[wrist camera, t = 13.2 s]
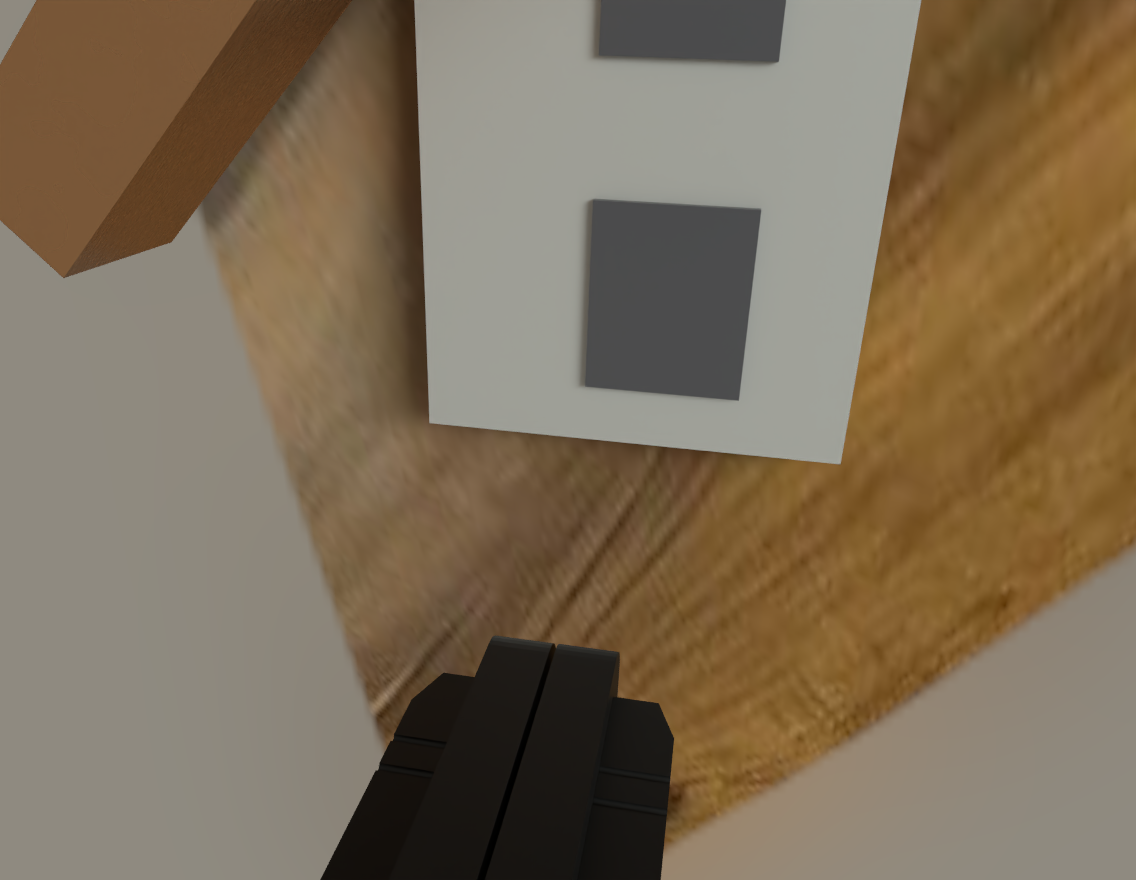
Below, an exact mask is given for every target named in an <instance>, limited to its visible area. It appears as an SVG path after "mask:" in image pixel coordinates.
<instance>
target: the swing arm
mask: <svg viewBox="0 0 1136 880" xmlns="http://www.w3.org/2000/svg"><path fill="white" fill-rule="evenodd" d="M351 1H352V0H37V1H36V2H35V4H34V6H33V8H32V10H31V12H30V13H29V15H28V17H27V18H26V20H25V22H24V24H23V25H22V27H21V29H20V31H19V32H18V34H17V36H16V38H15V39H14V41H13V43H12V45H11V47H10V48H9V50H8V52H7V54H6V55H5V57H4V59H3V60H2V63H1V64H0V220H1V221H2V222H3V223H4V224H5V225H6V226H7V227H8V228H9V229H10V230H12V231H13V232H14V233H15V234H16V235H17V236H18V237H19V238H20V239H21V240H23V241H24V242H25V243H26V244H27V245H28V246H29V247H30V248H31V249H32V250H33V251H35V252H36V253H37V254H38V255H39V256H40V257H41V258H42V259H43V260H44V261H46V262H47V263H48V264H49V265H50V266H51V267H52V268H53V269H54V270H56V272H58V273H59V274H60V275H61V276H62V277H63V278H65V277H68V276H71V275H74V274H77V273H80V272H83V271H86V270H89V269H92V268H95V267H98V266H101V265H104V264H107V263H110V262H113V261H116V260H119V259H122V258H125V257H128V256H131V255H134V254H137V253H140V252H143V251H146V250H149V249H152V248H155V247H158V246H161V245H164V244H167V243H170V242H172V241H173V239H174V238H175V237H176V235H177V234H178V233H179V231H180V230H181V229H182V227H183V226H184V225H185V223H186V222H187V221H188V219H189V218H190V217H191V215H192V214H193V213H194V211H195V210H196V209H197V207H198V206H199V205H200V203H201V202H202V201H203V199H204V198H205V197H206V195H207V194H208V193H209V191H210V190H211V189H212V187H213V186H214V184H215V183H216V182H217V180H218V179H219V178H220V176H221V175H222V174H223V172H224V171H225V170H226V168H227V167H228V166H229V164H230V163H231V162H232V160H233V159H234V158H235V156H236V155H237V154H238V152H239V151H240V150H241V148H242V147H243V146H244V144H245V143H246V142H247V140H248V139H249V138H250V136H251V135H252V134H253V132H254V131H255V130H256V128H257V127H258V126H259V124H260V123H261V122H262V120H263V119H264V118H265V116H266V115H267V114H268V112H269V111H270V109H271V108H272V107H273V105H274V104H275V103H276V101H277V100H278V99H279V97H280V96H281V95H282V93H283V92H284V91H285V89H286V88H287V87H288V85H289V84H290V83H291V81H292V80H293V79H294V77H295V76H296V75H297V73H298V72H299V71H300V69H301V68H302V67H303V65H304V64H305V63H306V61H307V60H308V59H309V57H310V56H311V55H312V53H313V52H314V51H315V49H316V48H317V47H318V45H319V44H320V43H321V41H322V40H323V38H324V37H325V36H326V34H327V33H328V32H329V30H330V29H331V28H332V26H333V25H334V24H335V22H336V21H337V20H338V18H339V17H340V16H341V14H342V13H343V12H344V10H345V9H346V8H347V6H348V5H349V4H350V2H351Z"/></svg>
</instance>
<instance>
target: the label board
mask: <svg viewBox="0 0 1136 880" xmlns="http://www.w3.org/2000/svg"><path fill="white" fill-rule="evenodd" d="M414 3H415V31H416V59H417V87H418V115H419V143H420V171H421V199H422V227H423V255H424V283H425V310H426V338H427V366H428V394H429V422H430V423H434V424H444V425H454V426H464V427H474V428H484V429H494V430H504V431H514V432H524V433H534V434H544V435H554V436H564V437H574V438H584V439H594V440H604V441H613V442H623V443H633V444H643V445H653V446H663V447H673V448H683V449H693V450H703V451H713V452H723V453H733V454H743V455H753V456H763V457H773V458H783V459H793V460H803V461H813V462H823V463H833V464H841V458H842V452H843V446H844V441H845V435H846V429H847V423H848V418H849V412H850V406H851V400H852V395H853V389H854V383H855V377H856V372H857V366H858V360H859V354H860V349H861V343H862V337H863V331H864V326H865V320H866V314H867V308H868V303H869V297H870V291H871V285H872V280H873V274H874V268H875V262H876V257H877V251H878V245H879V239H880V234H881V228H882V222H883V216H884V211H885V205H886V199H887V194H888V188H889V182H890V176H891V171H892V165H893V159H894V153H895V148H896V142H897V136H898V130H899V125H900V119H901V113H902V107H903V102H904V96H905V90H906V84H907V79H908V73H909V67H910V61H911V56H912V50H913V44H914V38H915V33H916V27H917V21H918V15H919V10H920V4H921V0H414Z"/></svg>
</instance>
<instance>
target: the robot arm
mask: <svg viewBox="0 0 1136 880" xmlns="http://www.w3.org/2000/svg"><path fill="white" fill-rule="evenodd" d="M619 663H620V654H619V652H614V651H607V650H600V649H592V648H585V647H578V646H570V645H563V644H558V646H557V648H556V647H555V644H554V643H546V642H539V641H531V640H524V639H517V638H509V637H502V636H494V637H492V639H491V641H490V643H489V645H488V647H487V649H486V652H485V654H484V657H483V659H482V661H481V664H480V666H479V668H478V671H477V673H476V675H475V677H469V676H462V675H455V674H448V673H443V674H442V675H440V676H439V677H438V678H437V679H436V680H434V681H433V682H432V683H431V684H430V685H428V686H427V687H426V688H425V689H424V690H422V691H421V692H420V693H419V694H418V695H417V696H415V697H414V698H413V699H412V700H411V702H410V704H409V706H408V708H407V710H406V712H405V714H404V716H403V718H402V720H401V722H400V724H399V726H398V728H397V729H396V731H395V733H394V739H393V741H390V743H389V745H388V747H387V749H386V751H385V753H384V755H383V757H382V759H381V761H380V765H379V769H378V771H375V773H374V775H373V777H372V779H371V781H370V783H369V785H368V787H367V789H366V791H365V793H364V795H363V797H362V799H361V801H360V803H359V805H358V806H357V808H356V811H355V812H354V815H353V816H352V818H351V820H350V822H349V824H348V826H347V828H346V830H345V832H344V834H343V836H342V838H341V840H340V842H339V844H338V846H337V848H336V850H335V852H334V854H333V856H332V858H331V860H330V862H329V864H328V866H327V868H326V870H325V872H324V874H323V876H322V878H321V880H661V870H662V859H663V849H664V838H665V828H666V817H667V807H668V796H669V785H670V775H671V764H672V754H673V743H674V737H673V735H672V733H671V731H670V728H669V726H668V724H667V721H666V719H665V717H664V715H663V712H662V710H661V708H660V705H659V703H653V702H646V701H639V700H632V699H625V698H618V697H617V694H618V679H619Z"/></svg>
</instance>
